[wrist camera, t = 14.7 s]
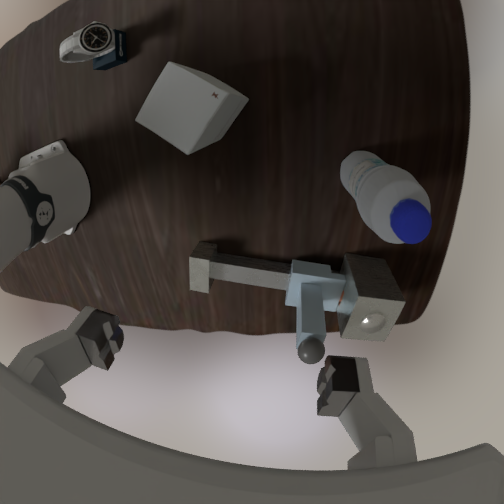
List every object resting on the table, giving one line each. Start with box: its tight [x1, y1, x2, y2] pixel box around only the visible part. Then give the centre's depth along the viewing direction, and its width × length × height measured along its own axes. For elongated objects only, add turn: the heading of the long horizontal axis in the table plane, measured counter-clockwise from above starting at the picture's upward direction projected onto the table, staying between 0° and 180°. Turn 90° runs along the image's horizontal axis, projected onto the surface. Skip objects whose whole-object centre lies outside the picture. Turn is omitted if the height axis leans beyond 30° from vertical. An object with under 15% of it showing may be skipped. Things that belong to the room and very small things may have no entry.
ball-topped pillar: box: [285, 260, 346, 364], centre depth 36 cm, size 8×6×17 cm
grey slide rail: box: [189, 241, 405, 341], centre depth 39 cm, size 30×8×11 cm, turn 84°
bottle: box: [340, 151, 432, 244], centre depth 26 cm, size 7×7×20 cm
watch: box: [60, 21, 127, 70], centre depth 25 cm, size 6×8×11 cm
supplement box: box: [135, 62, 249, 155], centre depth 28 cm, size 7×7×13 cm
